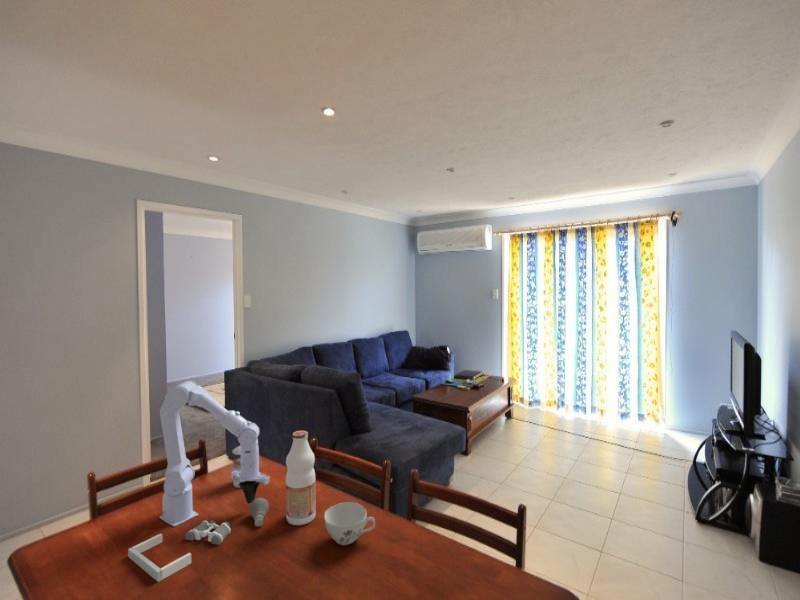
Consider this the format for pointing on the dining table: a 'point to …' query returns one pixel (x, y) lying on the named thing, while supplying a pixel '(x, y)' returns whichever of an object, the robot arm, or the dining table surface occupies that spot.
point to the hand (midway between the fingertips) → (250, 501)
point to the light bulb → (259, 510)
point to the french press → (238, 464)
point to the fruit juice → (300, 481)
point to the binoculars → (204, 529)
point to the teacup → (347, 522)
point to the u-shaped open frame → (150, 567)
